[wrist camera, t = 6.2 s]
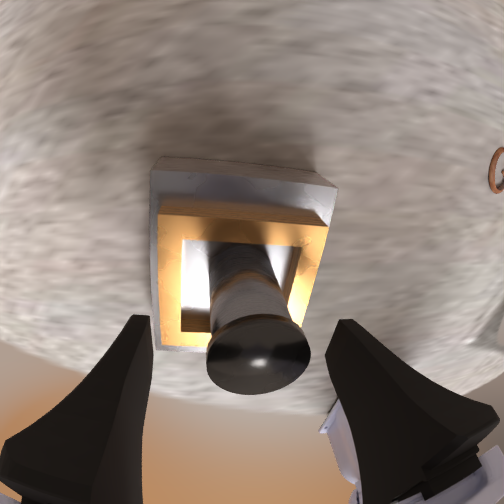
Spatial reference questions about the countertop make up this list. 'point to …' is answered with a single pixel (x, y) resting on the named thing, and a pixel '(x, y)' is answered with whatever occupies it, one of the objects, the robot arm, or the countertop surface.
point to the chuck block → (229, 236)
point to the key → (492, 172)
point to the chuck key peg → (251, 326)
